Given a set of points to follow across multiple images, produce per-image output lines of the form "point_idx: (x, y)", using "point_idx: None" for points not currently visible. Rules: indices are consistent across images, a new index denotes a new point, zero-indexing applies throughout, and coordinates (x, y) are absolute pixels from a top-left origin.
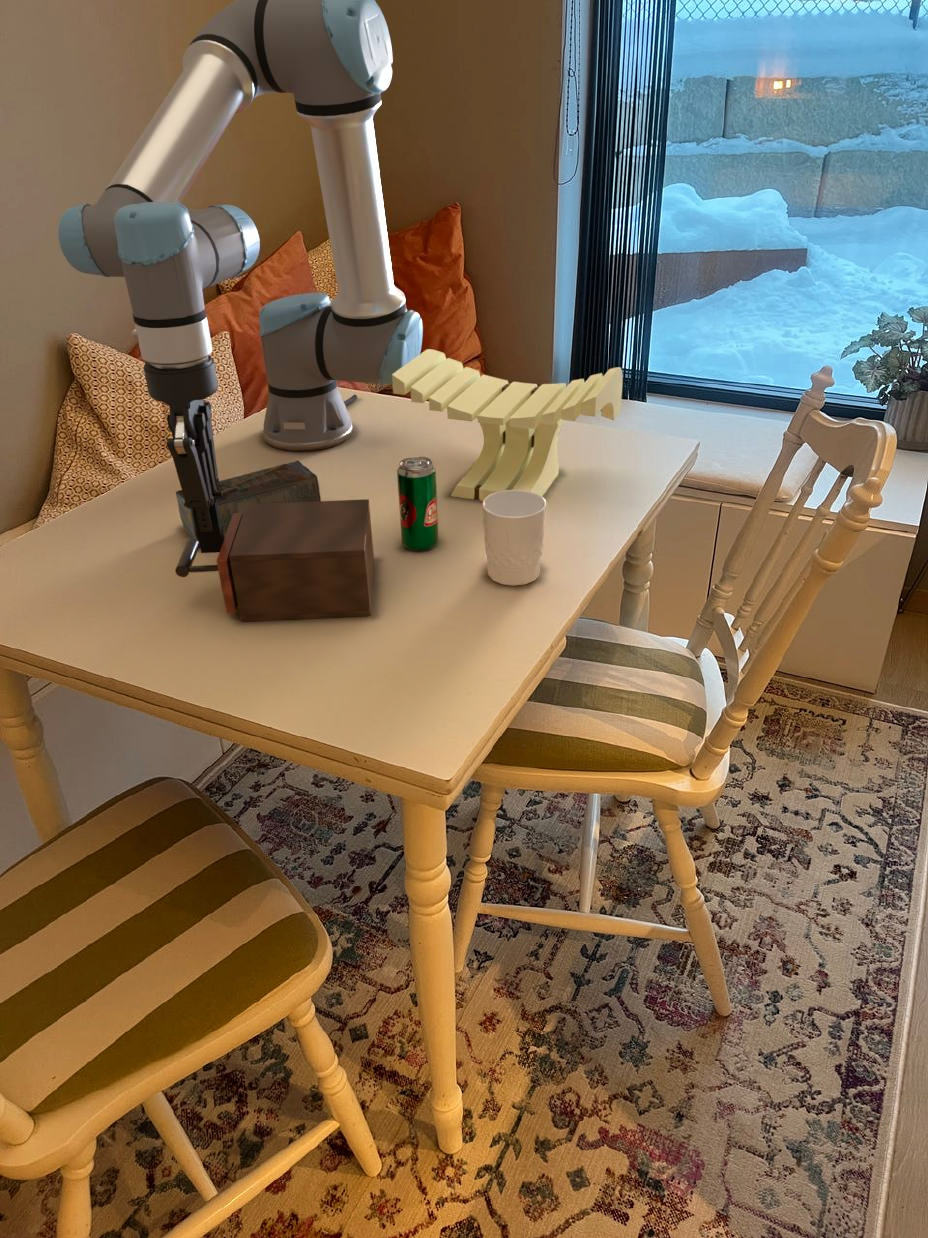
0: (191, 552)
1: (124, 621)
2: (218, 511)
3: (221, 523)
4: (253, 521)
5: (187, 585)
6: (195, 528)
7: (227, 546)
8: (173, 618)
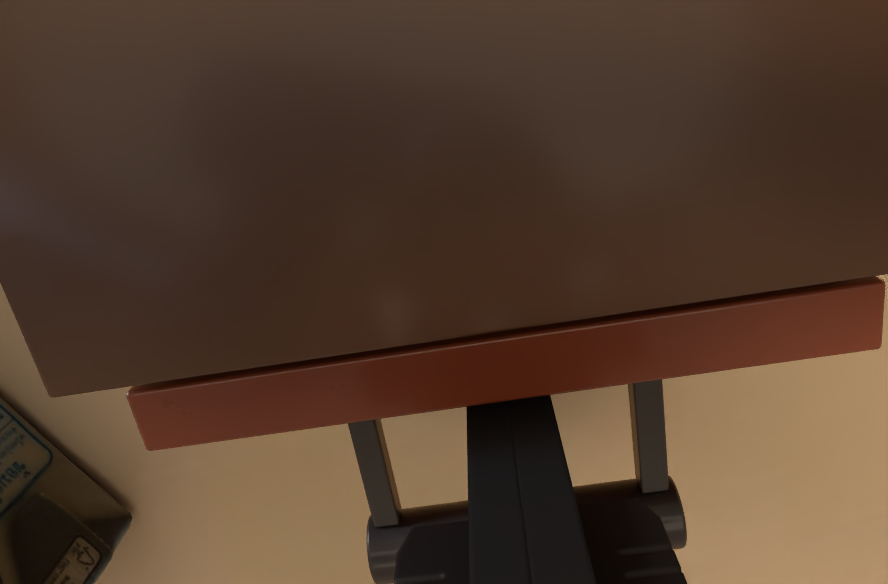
0: None
1: (693, 576)
2: (503, 558)
3: (470, 474)
4: (344, 249)
5: (429, 460)
6: (88, 580)
7: (664, 339)
8: (680, 430)
